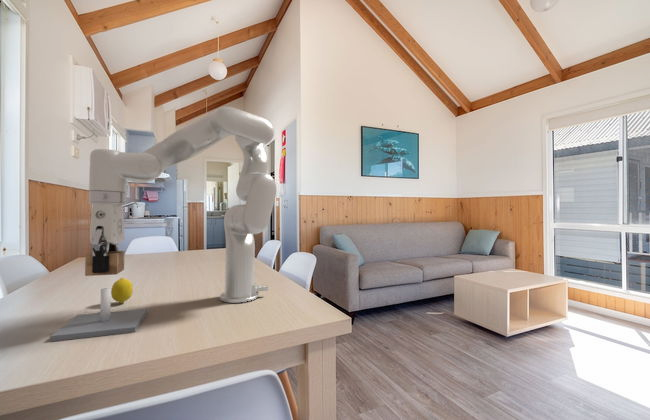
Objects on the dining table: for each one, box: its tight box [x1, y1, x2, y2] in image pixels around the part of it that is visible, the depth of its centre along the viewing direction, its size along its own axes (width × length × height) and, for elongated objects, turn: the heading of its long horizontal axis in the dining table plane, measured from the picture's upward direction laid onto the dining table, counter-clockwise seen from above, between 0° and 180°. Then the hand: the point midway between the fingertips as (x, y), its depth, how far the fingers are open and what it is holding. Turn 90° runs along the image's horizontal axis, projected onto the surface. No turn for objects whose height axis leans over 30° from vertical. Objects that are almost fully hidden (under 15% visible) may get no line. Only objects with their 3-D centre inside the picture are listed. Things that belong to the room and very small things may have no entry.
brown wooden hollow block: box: [84, 250, 126, 277], centre depth 74 cm, size 6×6×5 cm
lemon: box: [111, 277, 134, 304], centre depth 91 cm, size 6×6×8 cm
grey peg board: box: [50, 287, 148, 342], centre depth 74 cm, size 16×14×9 cm
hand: (105, 269), depth 74 cm, fingers closed on brown wooden hollow block, 6 cm apart
